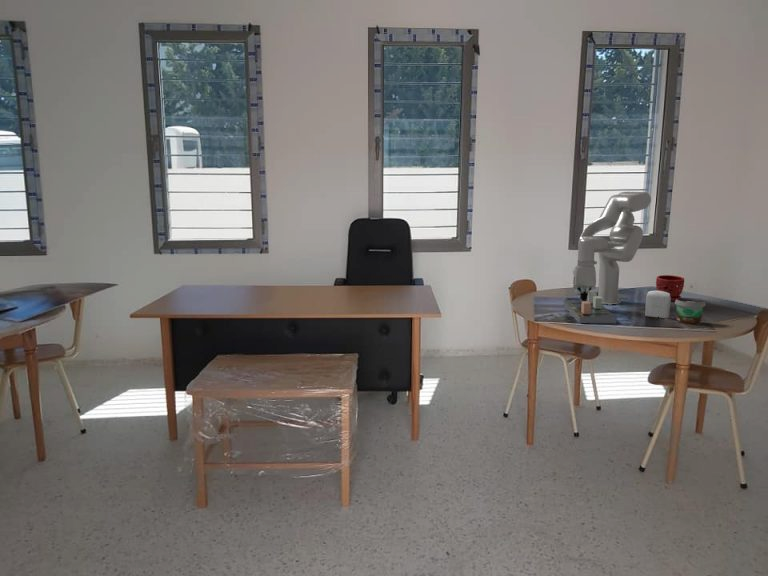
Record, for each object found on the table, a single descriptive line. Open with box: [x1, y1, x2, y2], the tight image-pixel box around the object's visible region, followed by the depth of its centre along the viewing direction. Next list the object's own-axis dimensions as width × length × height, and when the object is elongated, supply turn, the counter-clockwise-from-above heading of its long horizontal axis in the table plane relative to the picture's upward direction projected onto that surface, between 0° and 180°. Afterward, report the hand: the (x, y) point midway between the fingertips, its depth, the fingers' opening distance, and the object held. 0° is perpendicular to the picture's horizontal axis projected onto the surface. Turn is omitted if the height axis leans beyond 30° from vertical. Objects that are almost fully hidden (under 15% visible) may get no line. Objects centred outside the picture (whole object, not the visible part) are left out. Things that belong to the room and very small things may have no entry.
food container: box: [674, 299, 707, 325], centre depth 253 cm, size 12×6×10 cm, turn 70°
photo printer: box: [644, 290, 672, 319], centre depth 264 cm, size 10×4×12 cm, turn 56°
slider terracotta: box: [581, 300, 591, 314], centre depth 261 cm, size 3×4×5 cm, turn 174°
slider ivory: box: [587, 291, 598, 303], centre depth 281 cm, size 3×4×5 cm, turn 174°
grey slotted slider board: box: [563, 299, 617, 325], centre depth 272 cm, size 16×34×3 cm, turn 174°
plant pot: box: [655, 274, 685, 302], centre depth 298 cm, size 13×13×12 cm
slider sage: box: [593, 295, 603, 309], centre depth 271 cm, size 3×4×5 cm, turn 174°
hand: (583, 300), depth 282 cm, fingers closed
